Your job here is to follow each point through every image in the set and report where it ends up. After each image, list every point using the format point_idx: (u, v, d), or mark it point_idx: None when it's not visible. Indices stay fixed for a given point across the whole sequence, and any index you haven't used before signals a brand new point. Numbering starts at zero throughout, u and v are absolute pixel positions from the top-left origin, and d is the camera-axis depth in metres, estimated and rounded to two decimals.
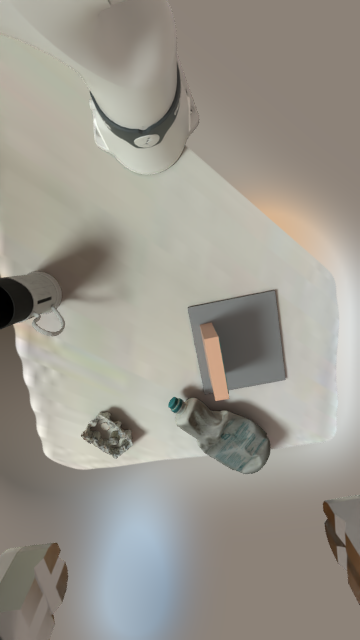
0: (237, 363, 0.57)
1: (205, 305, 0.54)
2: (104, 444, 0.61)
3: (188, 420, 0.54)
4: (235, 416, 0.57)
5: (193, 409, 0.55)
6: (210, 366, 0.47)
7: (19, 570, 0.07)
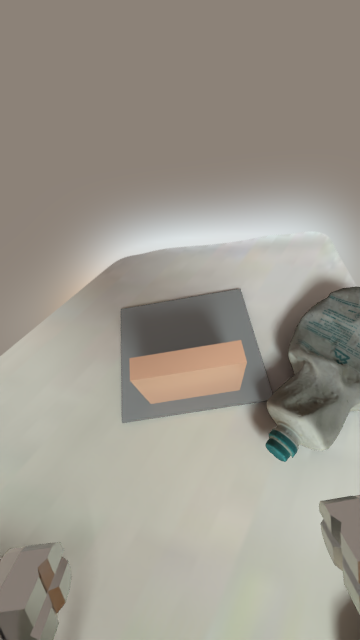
0: None
1: (123, 394, 0.37)
2: None
3: (302, 416, 0.27)
4: (295, 338, 0.35)
5: (281, 406, 0.29)
6: (179, 370, 0.27)
7: (23, 569, 0.07)
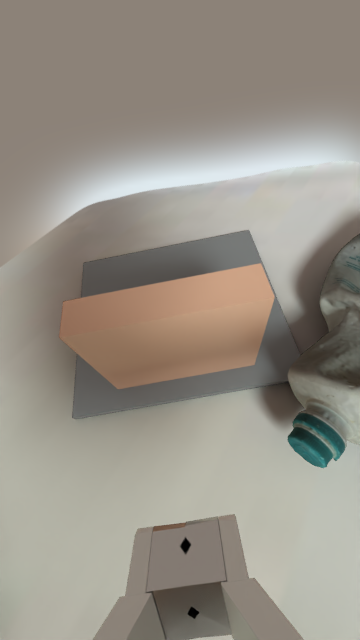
0: None
1: (77, 376, 0.24)
2: None
3: (356, 388, 0.15)
4: (330, 277, 0.22)
5: (315, 373, 0.17)
6: (149, 316, 0.15)
7: (164, 548, 0.07)
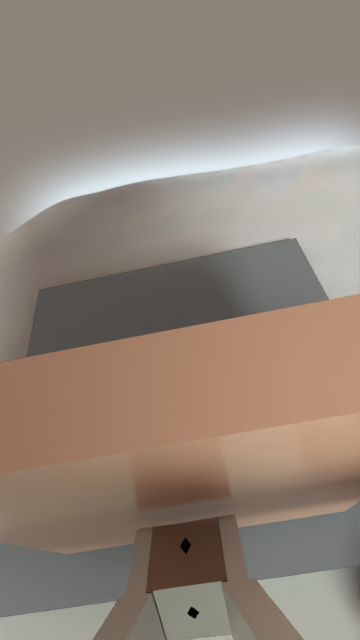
0: None
1: None
2: None
3: None
4: None
5: None
6: (88, 443, 0.04)
7: (164, 548, 0.07)
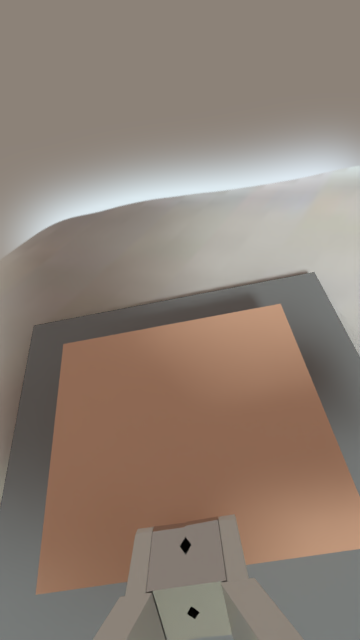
0: None
1: None
2: None
3: None
4: None
5: None
6: None
7: (164, 548, 0.07)
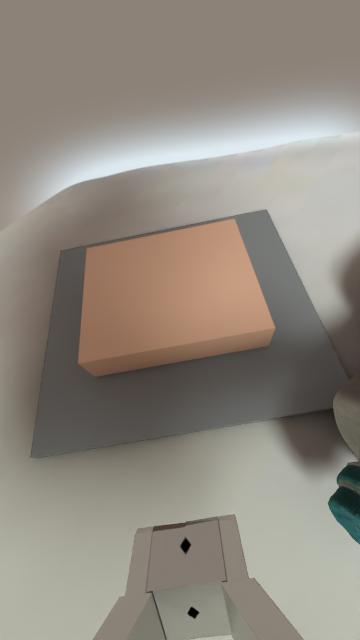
0: None
1: (42, 397, 0.18)
2: None
3: None
4: None
5: None
6: None
7: (164, 548, 0.07)
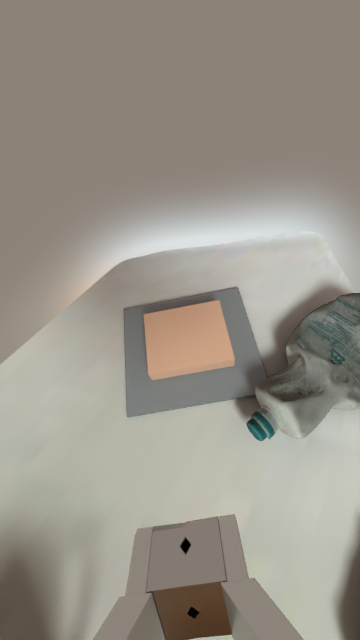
0: None
1: (127, 390, 0.39)
2: None
3: (283, 402, 0.29)
4: (294, 334, 0.36)
5: (266, 391, 0.31)
6: None
7: (164, 548, 0.07)
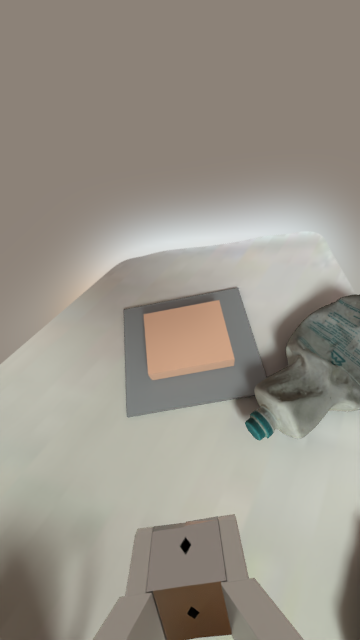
0: None
1: (127, 390, 0.39)
2: None
3: (281, 401, 0.29)
4: (295, 334, 0.36)
5: (265, 391, 0.31)
6: None
7: (164, 548, 0.07)
